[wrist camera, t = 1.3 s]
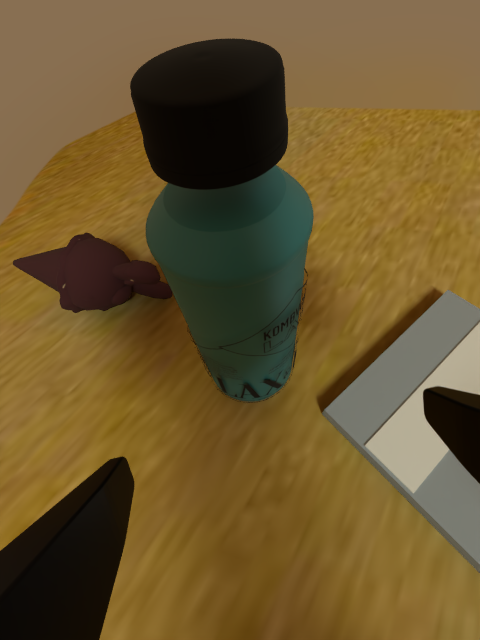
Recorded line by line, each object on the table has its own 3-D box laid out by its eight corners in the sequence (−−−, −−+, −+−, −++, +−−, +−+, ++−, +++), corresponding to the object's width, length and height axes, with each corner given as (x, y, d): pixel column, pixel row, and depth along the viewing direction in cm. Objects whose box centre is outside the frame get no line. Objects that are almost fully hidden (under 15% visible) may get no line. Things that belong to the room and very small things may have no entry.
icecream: (-39, 284, 23) (140, 314, 22) (-2, 205, 25) (165, 227, 24) (27, 310, 30) (168, 334, 29) (52, 246, 32) (185, 265, 30)
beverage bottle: (200, 394, 23) (0, 117, 6) (231, 325, 26) (153, 10, 9) (278, 424, 22) (295, 152, 5) (303, 346, 25) (368, 7, 8)
